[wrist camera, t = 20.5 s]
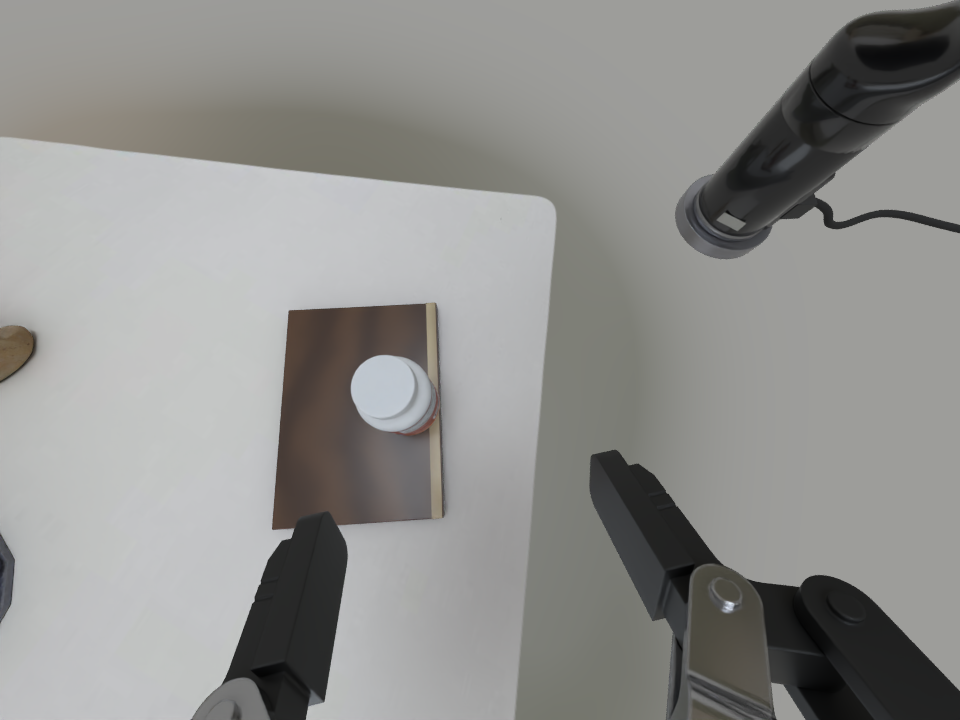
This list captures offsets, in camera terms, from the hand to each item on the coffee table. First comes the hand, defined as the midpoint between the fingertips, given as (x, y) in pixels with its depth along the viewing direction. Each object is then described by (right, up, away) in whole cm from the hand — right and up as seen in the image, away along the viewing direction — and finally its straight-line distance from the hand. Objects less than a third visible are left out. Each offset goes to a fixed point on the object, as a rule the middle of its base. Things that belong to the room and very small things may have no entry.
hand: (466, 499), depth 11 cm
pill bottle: (-7, 0, +26) cm, 27 cm away
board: (-12, -1, +27) cm, 30 cm away
